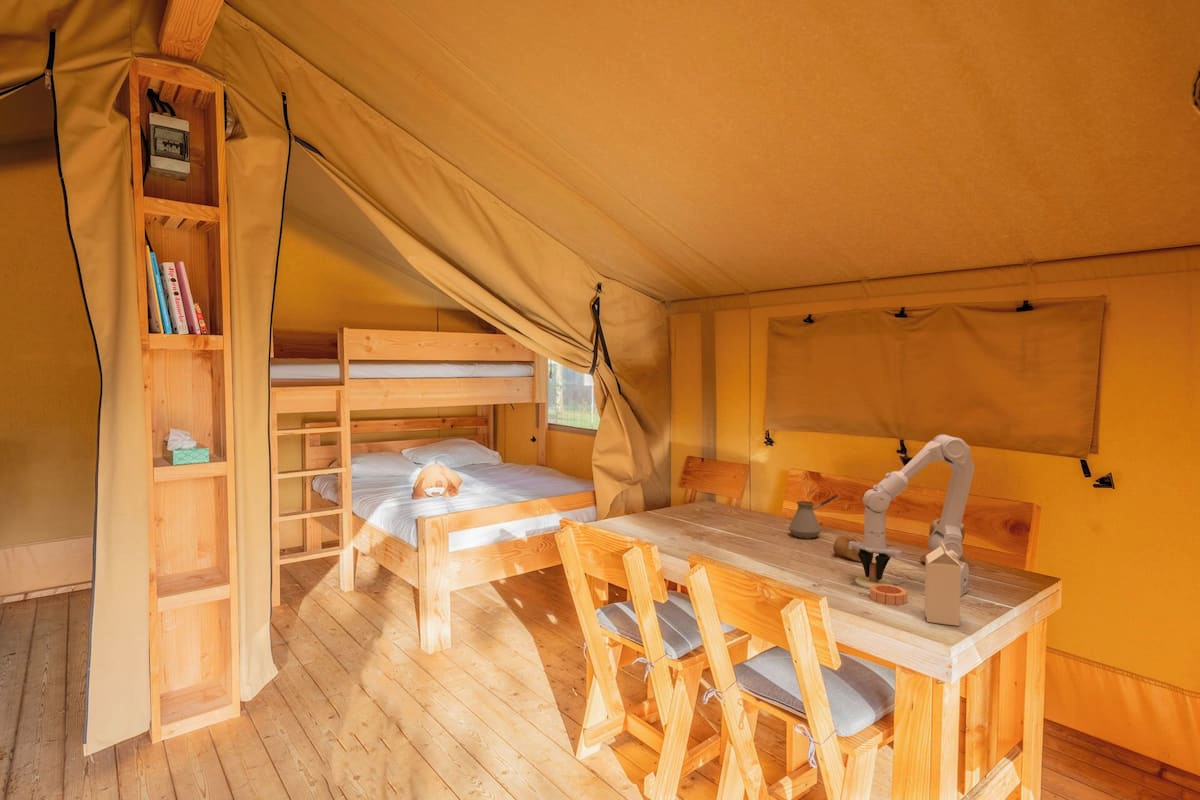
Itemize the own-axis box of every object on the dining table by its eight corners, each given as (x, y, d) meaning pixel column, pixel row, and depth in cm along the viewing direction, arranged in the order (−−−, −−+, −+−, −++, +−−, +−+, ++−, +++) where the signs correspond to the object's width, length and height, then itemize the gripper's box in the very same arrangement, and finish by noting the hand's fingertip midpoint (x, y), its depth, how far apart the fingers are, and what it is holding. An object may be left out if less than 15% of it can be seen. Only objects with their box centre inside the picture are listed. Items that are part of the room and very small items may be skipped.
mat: (898, 586, 191) (898, 584, 191) (883, 594, 184) (883, 592, 184) (864, 578, 198) (864, 576, 198) (849, 585, 191) (849, 584, 191)
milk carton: (927, 622, 163) (929, 547, 162) (924, 612, 170) (926, 540, 169) (959, 626, 161) (961, 550, 160) (955, 616, 167) (957, 542, 166)
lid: (898, 584, 191) (898, 564, 190) (883, 592, 184) (883, 571, 183) (864, 576, 198) (865, 557, 198) (849, 584, 191) (849, 563, 191)
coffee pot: (801, 541, 240) (802, 500, 240) (782, 534, 251) (783, 495, 250) (848, 536, 248) (849, 497, 247) (828, 529, 258) (829, 491, 258)
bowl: (912, 600, 179) (912, 589, 178) (898, 609, 172) (898, 597, 172) (878, 592, 185) (878, 581, 185) (863, 600, 179) (864, 589, 179)
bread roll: (858, 567, 209) (858, 542, 209) (824, 554, 223) (825, 531, 223) (880, 563, 213) (881, 539, 213) (846, 551, 227) (847, 528, 227)
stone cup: (944, 572, 204) (945, 525, 203) (914, 562, 215) (915, 516, 214) (980, 568, 209) (982, 521, 208) (949, 557, 220) (950, 513, 219)
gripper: (844, 529, 193) (843, 575, 193) (894, 538, 182) (893, 586, 183) (855, 525, 197) (854, 570, 198) (904, 534, 187) (903, 581, 187)
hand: (873, 577), depth 191 cm, fingers closed on lid, 3 cm apart
